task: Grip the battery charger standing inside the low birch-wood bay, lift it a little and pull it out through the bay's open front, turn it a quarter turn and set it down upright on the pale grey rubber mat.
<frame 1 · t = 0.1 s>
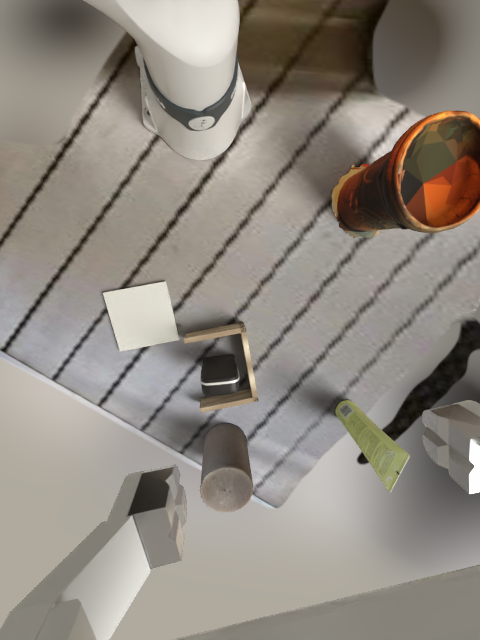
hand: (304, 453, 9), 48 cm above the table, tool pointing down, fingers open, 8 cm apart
tube: (344, 409, 64), on the table
mat: (142, 316, 55), on the table
vessel: (364, 202, 54), on the table
battery charger: (219, 363, 59), on the table
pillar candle: (224, 441, 63), on the table
bay: (219, 364, 59), on the table
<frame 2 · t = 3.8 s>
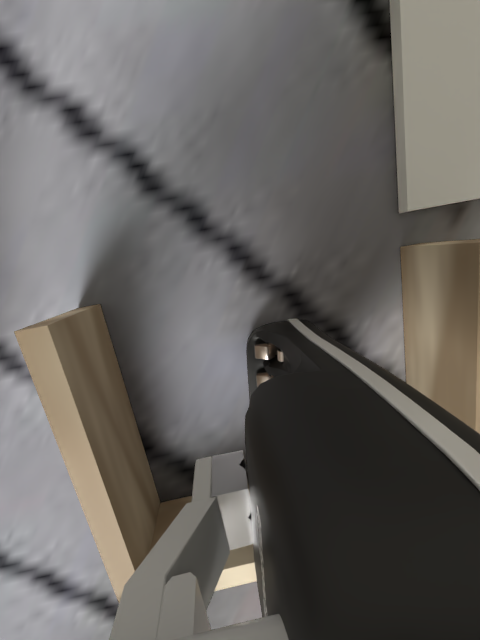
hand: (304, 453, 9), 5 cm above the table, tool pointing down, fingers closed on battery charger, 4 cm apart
battery charger: (271, 381, 14), on the table, touching gripper
bay: (272, 383, 14), on the table
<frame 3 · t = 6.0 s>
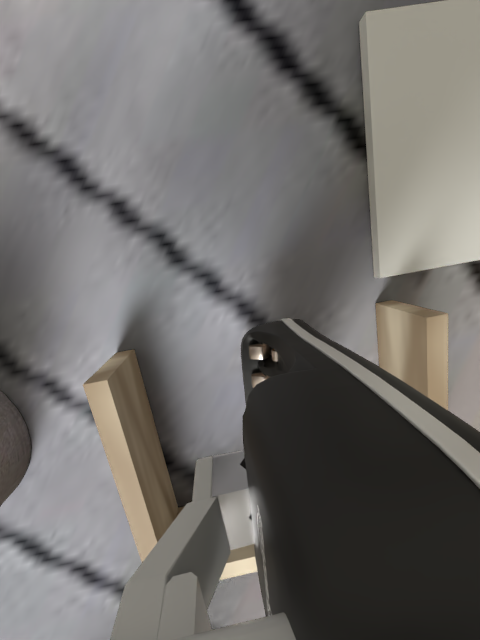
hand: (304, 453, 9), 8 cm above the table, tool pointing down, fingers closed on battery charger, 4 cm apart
mat: (476, 144, 15), on the table
battery charger: (266, 381, 14), point 2 cm above the table, touching gripper
bay: (271, 411, 17), on the table
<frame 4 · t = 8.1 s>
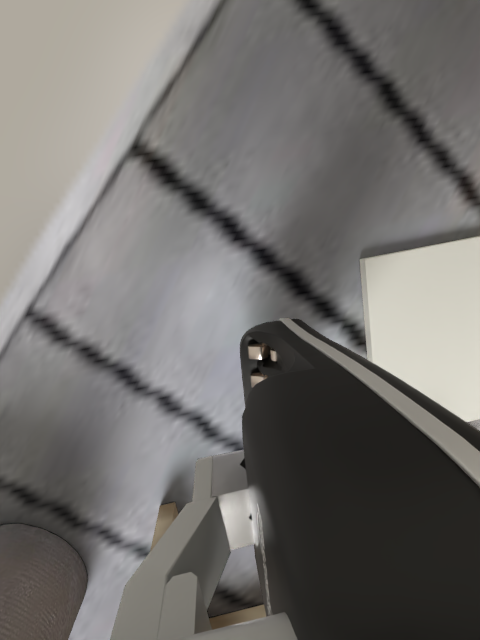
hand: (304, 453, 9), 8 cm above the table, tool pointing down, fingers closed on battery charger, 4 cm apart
mat: (456, 335, 18), on the table
battery charger: (265, 381, 14), point 3 cm above the table, touching gripper
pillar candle: (15, 575, 19), on the table
bay: (288, 540, 20), on the table
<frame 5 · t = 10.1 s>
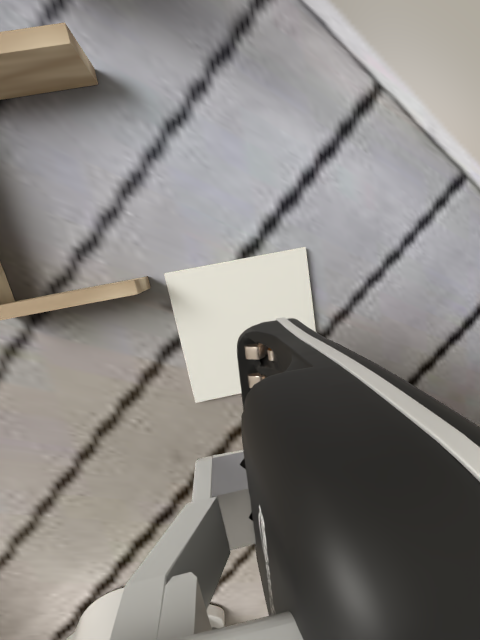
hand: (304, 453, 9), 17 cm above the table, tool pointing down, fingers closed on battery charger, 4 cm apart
mat: (247, 326, 25), on the table
battery charger: (262, 381, 14), point 11 cm above the table, touching gripper
bay: (54, 199, 22), on the table
when the fingers open (6 cm above the table, at t = 12.1 s): battery charger moves 1 cm, resting on mat.
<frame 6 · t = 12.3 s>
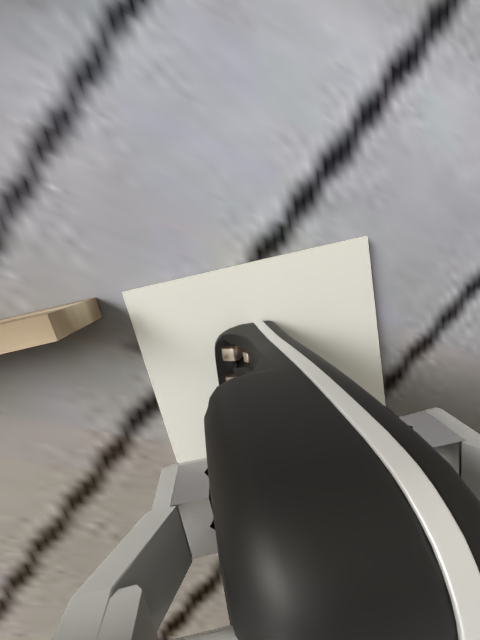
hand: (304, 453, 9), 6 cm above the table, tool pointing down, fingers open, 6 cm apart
mat: (268, 372, 15), on the table
battery charger: (241, 381, 15), point 1 cm above the table, touching gripper, mat
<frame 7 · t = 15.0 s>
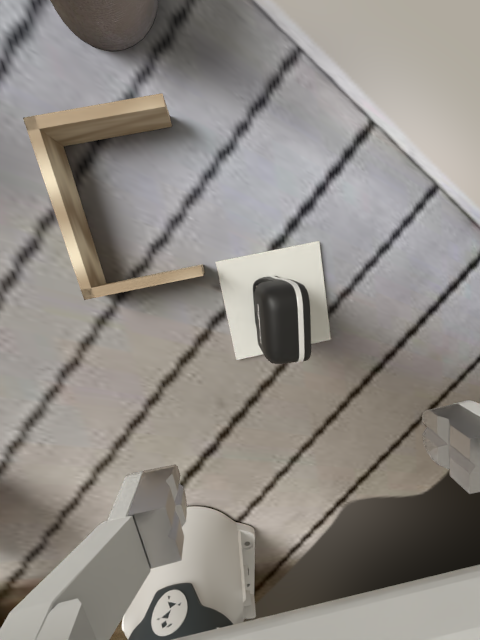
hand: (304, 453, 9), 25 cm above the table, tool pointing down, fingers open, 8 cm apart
mat: (275, 301, 33), on the table
battery charger: (263, 304, 33), resting on mat
bay: (137, 209, 30), on the table
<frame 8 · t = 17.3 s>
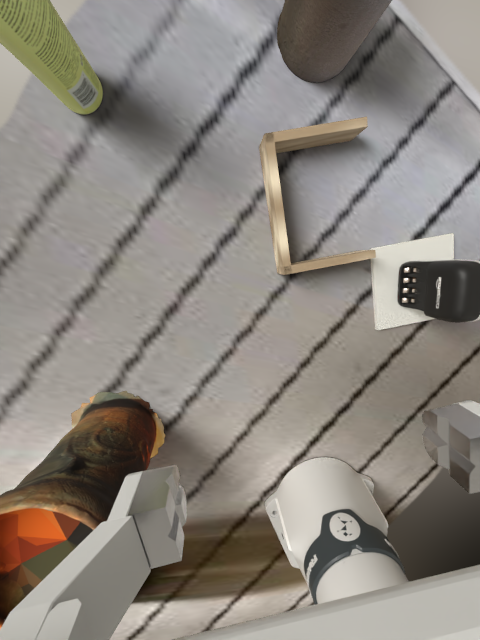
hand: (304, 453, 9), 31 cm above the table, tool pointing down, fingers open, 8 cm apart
tube: (83, 90, 32), on the table
mat: (411, 282, 41), on the table
vessel: (118, 430, 42), on the table
battery charger: (403, 284, 40), resting on mat
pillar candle: (317, 38, 33), on the table
bay: (316, 205, 37), on the table
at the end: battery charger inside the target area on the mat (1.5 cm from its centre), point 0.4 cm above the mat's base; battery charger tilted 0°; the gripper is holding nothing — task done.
